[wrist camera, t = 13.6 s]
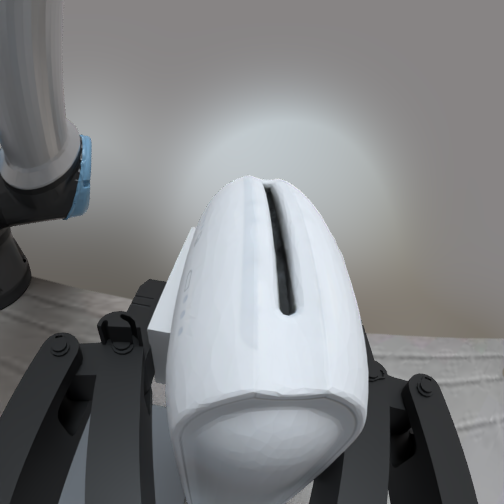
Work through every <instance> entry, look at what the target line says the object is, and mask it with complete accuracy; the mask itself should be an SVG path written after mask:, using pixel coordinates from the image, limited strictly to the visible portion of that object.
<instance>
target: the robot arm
mask: <svg viewBox="0 0 504 504" xmlns="http://www.w3.org/2000/svg"><path fill="white" fill-rule="evenodd" d="M63 9H64V0H0V144H1V146H2V147H1V149H0V309H2V308H4V307H6V306H8V305H9V304H11V303H12V302H14V301H15V300H16V299H17V298H19V297H20V296H21V295H22V294H23V292H24V291H25V290H26V288H27V287H28V285H29V283H30V280H31V271H30V267H29V264H28V261H27V258H26V257H25V255H24V254H23V252H22V250H21V249H20V247H19V246H18V244H17V242H16V241H15V239H14V238H13V236H12V233H11V230H10V227H12V226H17V225H23V224H30V223H36V222H43V221H49V220H57V219H63V220H67V219H68V218H70V217H76V216H80V215H83V214H84V213H85V212H86V211H87V209H88V206H89V199H90V176H91V139H90V137H88V136H83V135H79V132H78V129H77V128H76V126H75V125H74V124H73V123H72V122H71V121H70V120H68V119H67V118H66V114H65V103H64V89H63V68H62V29H63ZM195 230H196V227H192V228H191V230H190V233H189V235H188V237H187V239H186V241H185V243H184V245H183V248H182V250H181V252H180V254H179V256H178V259H177V261H176V263H175V265H174V268H173V270H172V272H171V274H170V277H169V279H168V281H167V282H164V281H157V280H151V279H149V280H148V281H146V282H145V283H144V284H142V285H141V286H140V287H139V289H138V291H137V293H136V295H135V297H134V299H133V301H132V304H131V305H130V307H129V309H128V311H127V312H123V311H118V312H112V313H109V314H107V315H105V316H104V317H103V318H101V319H100V321H99V323H98V324H97V328H98V331H99V335H100V339H101V342H100V343H88V344H79V343H78V341H77V339H76V338H75V337H74V336H73V335H71V334H69V333H57V334H54V335H52V336H50V337H49V338H48V339H47V340H46V341H45V342H44V344H43V345H42V347H41V348H40V350H39V351H38V353H37V354H36V356H35V358H34V359H33V361H32V363H31V364H30V366H29V367H28V369H27V371H26V372H25V374H24V376H23V377H22V379H21V381H20V383H19V384H18V386H17V388H16V390H15V391H14V393H13V395H12V397H11V399H10V401H9V402H8V404H7V406H6V408H5V410H4V412H3V414H2V416H1V418H0V504H58V503H59V500H60V497H61V493H62V490H63V487H64V484H65V481H66V478H67V475H68V472H69V470H70V467H71V464H72V461H73V458H74V456H75V453H76V450H77V447H78V445H79V442H80V439H81V437H82V434H83V432H84V429H85V427H86V424H87V422H88V419H89V417H90V425H89V434H88V444H87V457H86V474H85V504H156V500H155V487H154V470H153V443H152V389H151V383H152V380H153V377H154V376H155V381H156V382H157V383H162V384H166V363H167V353H168V346H169V339H170V333H171V326H172V320H173V314H174V309H175V304H176V299H177V294H178V290H179V285H180V281H181V277H182V273H183V269H184V265H185V261H186V258H187V254H188V251H189V248H190V245H191V242H192V239H193V236H194V233H195ZM360 318H361V317H360ZM361 323H362V320H361ZM362 328H363V333H364V339H365V346H366V353H367V363H368V404H367V417H366V421H365V425H364V427H363V430H362V432H361V433H360V434H359V436H358V437H357V438H356V439H355V441H354V442H353V443H352V444H351V445H350V446H349V447H348V448H347V449H346V450H345V451H344V452H343V453H342V454H341V455H340V456H339V457H338V458H336V460H335V461H334V462H333V463H332V464H330V465H329V467H327V468H326V469H325V470H324V471H323V472H322V473H321V474H320V475H319V476H317V477H316V478H315V479H314V483H313V488H312V492H311V497H310V502H309V504H387V495H388V491H389V496H390V502H391V504H478V502H477V498H476V494H475V490H474V486H473V482H472V479H471V475H470V472H469V468H468V465H467V462H466V458H465V455H464V452H463V449H462V446H461V443H460V440H459V437H458V434H457V431H456V429H455V426H454V423H453V420H452V418H451V415H450V412H449V410H448V407H447V405H446V402H445V399H444V397H443V394H442V392H441V390H440V387H439V385H438V384H437V382H436V381H435V380H434V379H433V378H432V377H430V376H428V375H426V374H416V375H414V376H413V377H411V378H410V380H409V381H405V380H402V379H398V378H394V377H391V376H389V375H387V371H386V370H385V368H384V367H383V366H382V365H381V364H379V363H378V362H377V361H374V358H373V355H372V351H371V348H370V345H369V342H368V339H367V336H366V333H365V330H364V327H363V325H362ZM90 414H91V416H90Z"/></svg>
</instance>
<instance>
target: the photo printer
mask: <svg viewBox="0 0 504 504" xmlns="http://www.w3.org/2000/svg"><path fill="white" fill-rule="evenodd" d="M165 395H166V407H167V417H168V424H169V431H170V437H171V441H172V446H173V450H174V454H175V459H176V464H177V468H178V472H179V475H180V479H181V483H182V487H183V490H184V494H185V497H186V500H187V503H188V504H285V503H287V502H288V501H289V500H290V499H291V498H293V497H294V496H295V495H296V494H297V493H299V492H300V491H301V490H302V489H304V488H305V487H306V486H307V485H308V484H309V483H311V482H312V481H313V480H314V479H315V478H316V477H317V476H319V475H320V474H321V473H322V472H323V471H324V470H325V469H326V468H327V467H329V465H330V464H332V463H333V462H334V461H335V460H336V458H338V457H339V456H340V455H341V454H342V453H343V452H344V451H345V450H346V449H347V448H348V447H349V446H350V445H351V444H352V443H353V442H354V441H355V439H356V438H357V437H358V436H359V434H360V433H361V432H362V430H363V427H364V425H365V421H366V417H367V404H368V363H367V353H366V346H365V339H364V333H363V328H362V323H361V318H360V313H359V309H358V305H357V301H356V298H355V294H354V291H353V287H352V284H351V281H350V278H349V275H348V272H347V269H346V265H345V261H344V258H343V255H342V253H341V251H340V250H339V248H338V247H337V244H336V241H335V238H334V236H333V235H332V234H331V233H330V230H329V228H328V227H327V224H326V223H325V221H324V219H323V217H322V216H321V215H320V213H319V212H318V210H317V209H316V207H315V206H314V205H313V203H312V202H311V201H310V200H309V199H308V198H307V197H306V196H305V195H304V194H303V193H302V192H301V191H300V190H299V189H297V188H296V187H294V186H293V185H292V184H290V183H289V182H287V181H285V180H283V179H278V178H277V179H273V180H263V179H259V178H256V177H254V176H251V175H248V176H244V177H241V178H238V179H236V180H234V181H232V182H230V183H229V184H227V185H225V186H224V187H223V188H222V189H221V190H220V191H218V193H216V194H215V196H214V197H213V198H212V200H211V201H210V202H209V204H208V205H207V207H206V209H205V210H204V212H203V214H202V216H201V218H200V220H199V223H198V225H197V227H196V230H195V233H194V236H193V239H192V242H191V245H190V248H189V251H188V254H187V258H186V261H185V265H184V269H183V273H182V277H181V281H180V285H179V290H178V294H177V299H176V304H175V309H174V314H173V320H172V326H171V333H170V339H169V346H168V353H167V363H166V390H165Z"/></svg>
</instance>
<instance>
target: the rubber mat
mask: <svg viewBox="0 0 504 504" xmlns="http://www.w3.org/2000/svg"><path fill="white" fill-rule="evenodd" d="M90 416H91V414H90ZM89 425H90V417H89V419H88V422H87V424H86V427H85V429H84V432H83V434H82V437H81V439H80V442H79V445H78V447H77V450H76V453H75V456H74V458H73V461H72V464H71V467H70V470H69V472H68V475H67V478H66V481H65V484H64V487H63V490H62V493H61V497H60V500H59V503H58V504H85V474H86V457H87V444H88V434H89ZM152 443H153V470H154V487H155V500H156V504H184V503H185V494H184V490H183V487H182V483H181V479H180V475H179V472H178V468H177V464H176V459H175V454H174V450H173V446H172V441H171V437H170V431H169V424H168V417H167V407H162V406H158V405H153V404H152Z"/></svg>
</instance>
